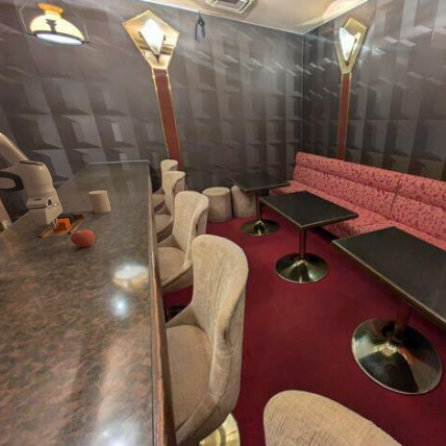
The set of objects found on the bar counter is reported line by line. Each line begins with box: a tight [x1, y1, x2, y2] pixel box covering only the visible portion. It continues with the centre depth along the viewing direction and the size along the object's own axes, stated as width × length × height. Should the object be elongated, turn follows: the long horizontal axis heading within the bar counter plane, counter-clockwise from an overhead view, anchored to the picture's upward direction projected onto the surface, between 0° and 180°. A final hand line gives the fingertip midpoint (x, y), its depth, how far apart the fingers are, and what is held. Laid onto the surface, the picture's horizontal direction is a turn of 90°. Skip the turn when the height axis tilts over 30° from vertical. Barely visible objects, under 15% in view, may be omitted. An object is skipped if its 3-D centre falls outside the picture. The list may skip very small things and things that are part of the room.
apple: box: [70, 229, 96, 248], centre depth 103 cm, size 7×7×8 cm
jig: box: [37, 212, 85, 239], centre depth 120 cm, size 12×22×4 cm, turn 28°
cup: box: [88, 189, 112, 214], centre depth 143 cm, size 8×8×12 cm
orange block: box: [53, 218, 71, 231], centre depth 118 cm, size 5×6×4 cm
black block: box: [57, 212, 75, 224], centre depth 125 cm, size 5×6×4 cm
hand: (54, 228), depth 112 cm, fingers closed
